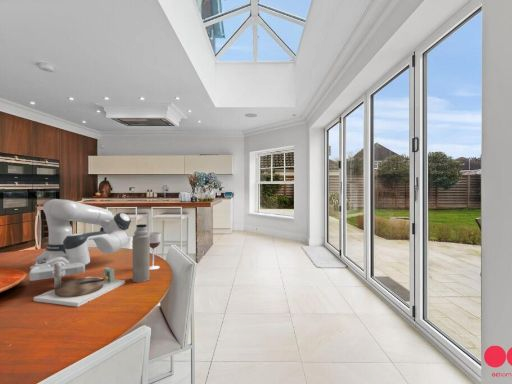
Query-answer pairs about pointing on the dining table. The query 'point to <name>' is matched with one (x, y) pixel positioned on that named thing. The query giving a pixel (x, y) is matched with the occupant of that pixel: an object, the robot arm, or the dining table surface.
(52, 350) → the dining table surface
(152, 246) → the wineglass
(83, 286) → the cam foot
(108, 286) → the stand
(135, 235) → the thermos bottle
